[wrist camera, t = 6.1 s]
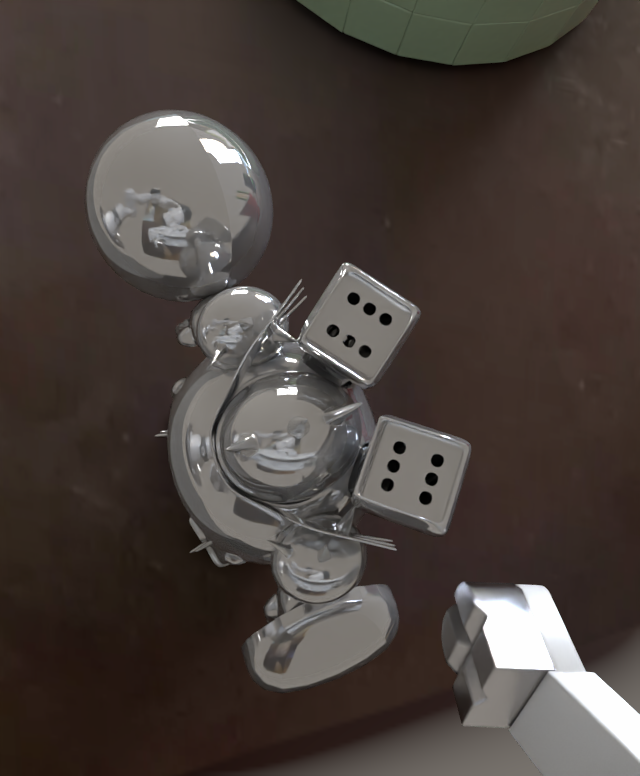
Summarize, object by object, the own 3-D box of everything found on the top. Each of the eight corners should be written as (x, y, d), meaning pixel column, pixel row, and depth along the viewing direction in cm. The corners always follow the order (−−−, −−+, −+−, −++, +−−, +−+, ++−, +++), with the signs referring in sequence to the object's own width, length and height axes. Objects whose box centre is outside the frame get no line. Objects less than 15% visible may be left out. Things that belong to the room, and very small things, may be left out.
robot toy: (107, 281, 23) (-94, -76, 9) (254, 243, 25) (290, -124, 10) (218, 644, 22) (197, 958, 7) (370, 584, 23) (622, 742, 8)
